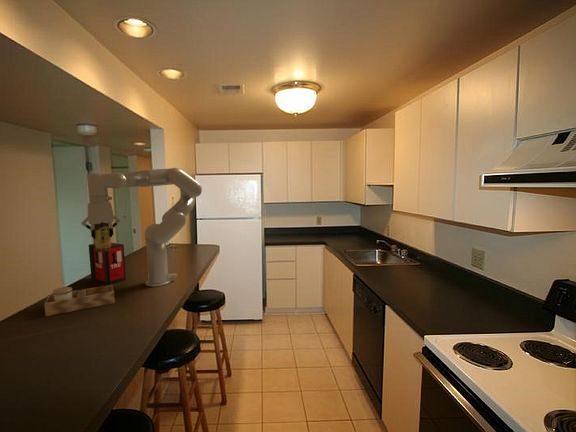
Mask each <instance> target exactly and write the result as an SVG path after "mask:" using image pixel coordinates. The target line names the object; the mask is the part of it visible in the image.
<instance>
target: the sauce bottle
mask: <svg viewBox="0 0 576 432" xmlns="http://www.w3.org/2000/svg"><path fill="white" fill-rule="evenodd" d="M94 231H95V239H94V244H95V248H96V252H106V251H109V250H110V249H111V243H112V242H111V237H110V226H109V224H108V223H104V222H101V223H100V224H95V226H94Z"/></svg>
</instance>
